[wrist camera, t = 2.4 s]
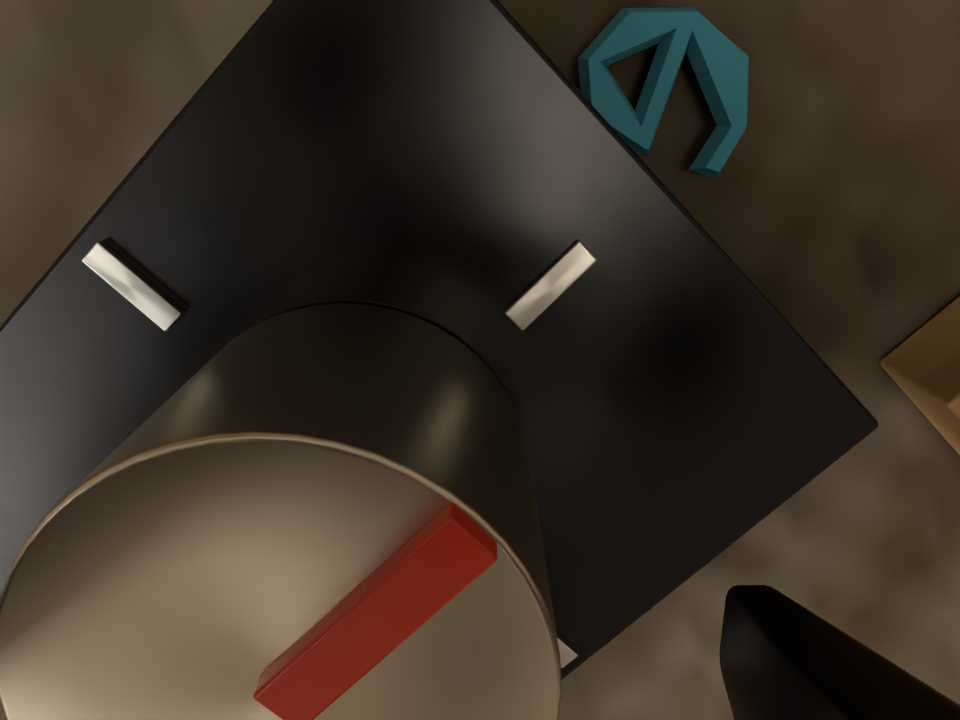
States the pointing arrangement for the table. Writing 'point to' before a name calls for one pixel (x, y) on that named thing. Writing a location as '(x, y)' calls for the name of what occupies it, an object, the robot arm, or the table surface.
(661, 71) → the nameplate
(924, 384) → the button block
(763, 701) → the robot arm
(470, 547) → the knob
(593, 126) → the dial console
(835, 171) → the table surface
